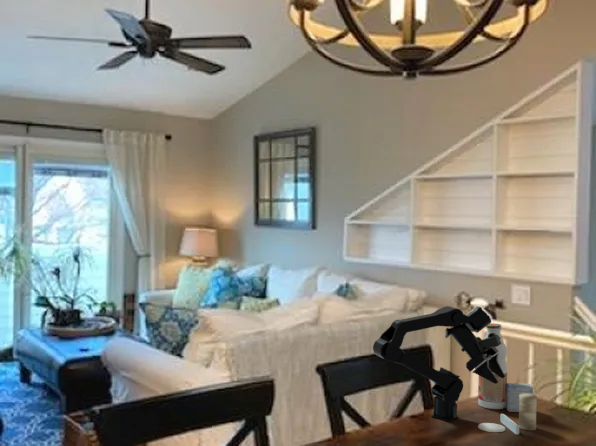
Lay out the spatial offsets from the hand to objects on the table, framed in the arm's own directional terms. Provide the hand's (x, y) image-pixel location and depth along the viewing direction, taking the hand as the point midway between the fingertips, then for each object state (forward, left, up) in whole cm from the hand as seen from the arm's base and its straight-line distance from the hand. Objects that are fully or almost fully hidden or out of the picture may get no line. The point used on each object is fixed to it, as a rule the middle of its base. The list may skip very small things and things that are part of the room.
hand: (500, 380), depth 210 cm
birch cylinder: (+8, +1, -14) cm, 16 cm away
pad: (0, -7, -13) cm, 15 cm away
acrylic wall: (+4, -3, -13) cm, 14 cm away
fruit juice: (-10, +16, -14) cm, 23 cm away
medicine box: (-1, +17, -14) cm, 22 cm away
